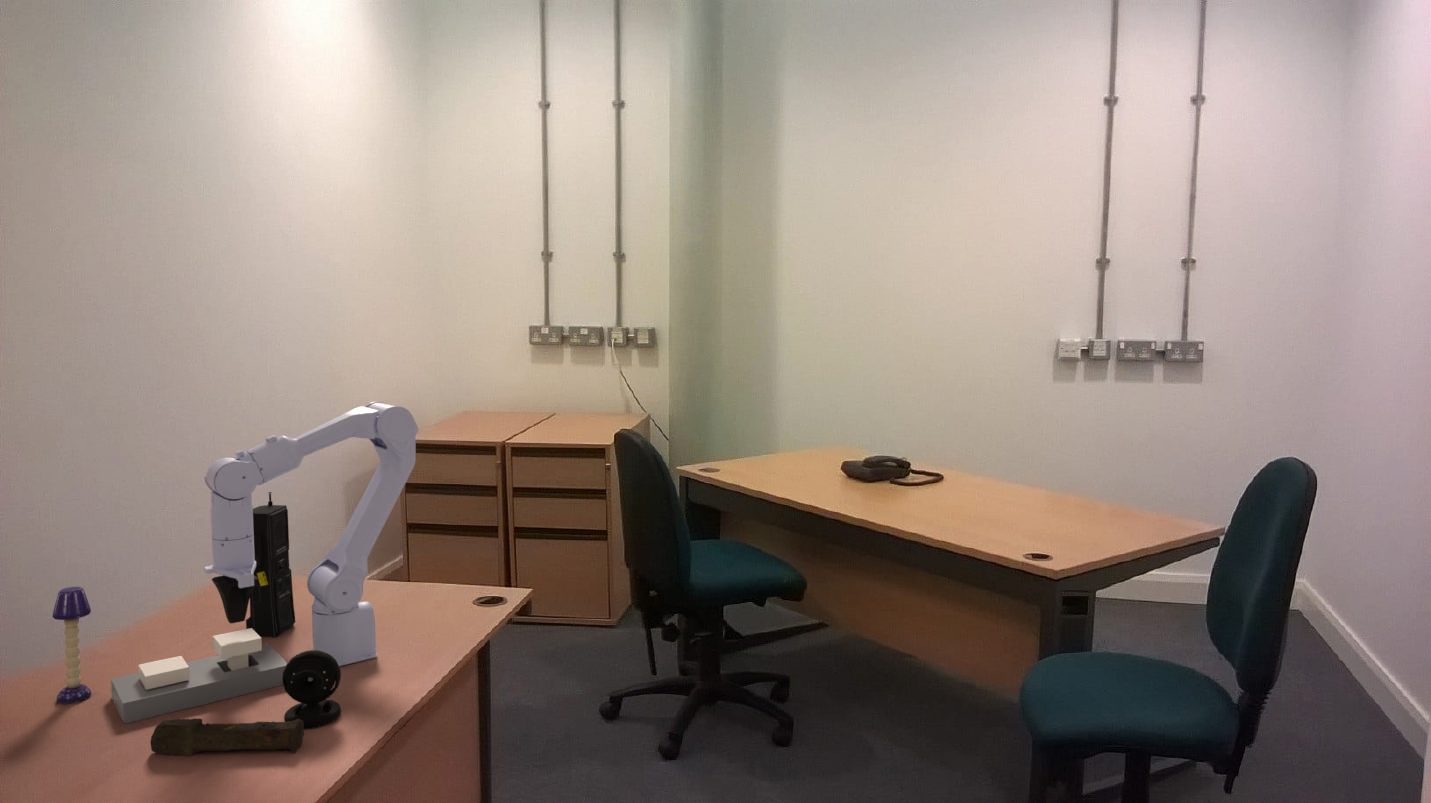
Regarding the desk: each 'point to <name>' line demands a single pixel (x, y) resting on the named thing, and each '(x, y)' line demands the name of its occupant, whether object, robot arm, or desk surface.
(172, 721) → the hand tool
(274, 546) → the portable radio
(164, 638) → the desk surface
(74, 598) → the toy lamp
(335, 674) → the webcam
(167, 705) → the panel
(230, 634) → the cap
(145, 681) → the cap
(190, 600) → the desk surface
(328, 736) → the desk surface
